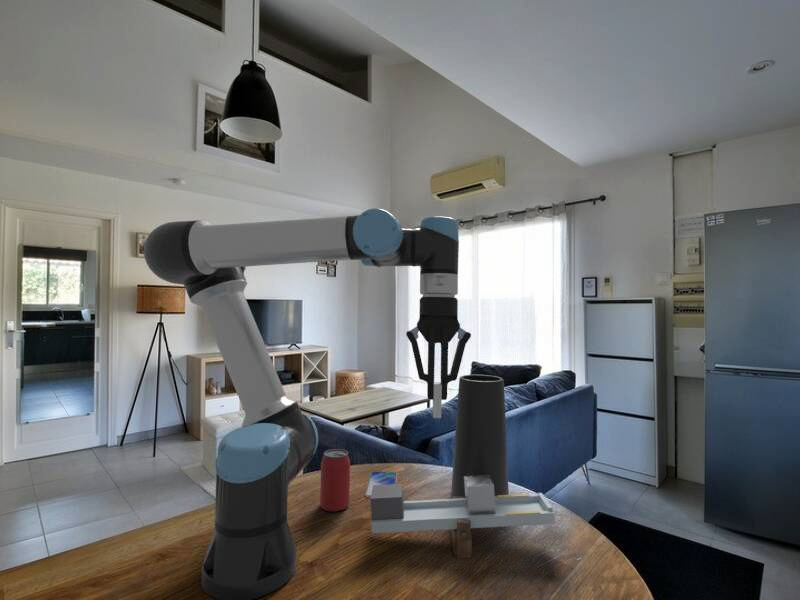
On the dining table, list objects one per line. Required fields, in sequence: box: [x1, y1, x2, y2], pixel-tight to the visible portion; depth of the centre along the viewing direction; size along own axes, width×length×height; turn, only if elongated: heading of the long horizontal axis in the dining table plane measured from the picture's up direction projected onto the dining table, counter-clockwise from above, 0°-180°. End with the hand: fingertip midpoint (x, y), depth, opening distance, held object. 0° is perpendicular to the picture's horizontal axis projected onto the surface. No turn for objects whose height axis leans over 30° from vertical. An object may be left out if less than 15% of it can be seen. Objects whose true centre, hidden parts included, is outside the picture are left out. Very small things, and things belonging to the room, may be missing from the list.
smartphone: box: [364, 471, 398, 499], centre depth 106 cm, size 7×1×15 cm
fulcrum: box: [449, 496, 473, 559], centre depth 80 cm, size 3×12×6 cm, turn 179°
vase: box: [450, 374, 510, 499], centre depth 99 cm, size 14×14×29 cm
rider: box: [464, 475, 496, 515], centre depth 80 cm, size 5×5×6 cm
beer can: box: [319, 448, 351, 513], centre depth 94 cm, size 7×7×12 cm
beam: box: [369, 483, 556, 534], centre depth 80 cm, size 34×8×6 cm, turn 89°
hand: (436, 416), depth 81 cm, fingers closed
